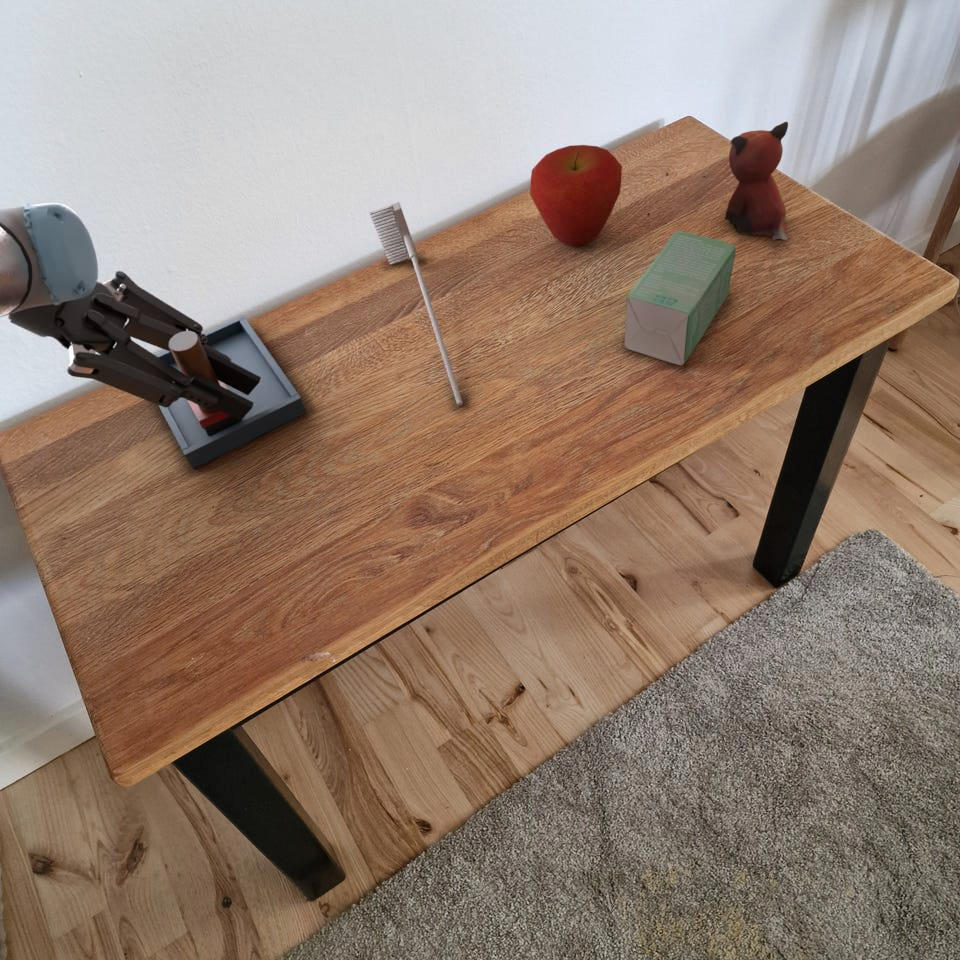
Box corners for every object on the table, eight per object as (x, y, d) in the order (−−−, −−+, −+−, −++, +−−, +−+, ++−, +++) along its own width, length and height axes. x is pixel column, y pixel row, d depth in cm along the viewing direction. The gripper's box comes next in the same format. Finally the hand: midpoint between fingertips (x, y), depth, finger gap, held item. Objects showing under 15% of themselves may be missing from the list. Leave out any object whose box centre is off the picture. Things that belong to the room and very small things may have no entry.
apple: (602, 205, 110) (603, 119, 101) (632, 251, 104) (637, 162, 94) (523, 226, 109) (516, 140, 100) (548, 273, 103) (544, 186, 93)
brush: (440, 435, 94) (421, 391, 86) (389, 264, 107) (368, 211, 99) (472, 425, 94) (455, 379, 86) (417, 255, 107) (398, 201, 99)
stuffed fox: (762, 261, 100) (780, 171, 90) (704, 217, 106) (715, 128, 97) (812, 238, 101) (834, 148, 92) (752, 196, 108) (767, 108, 99)
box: (730, 294, 97) (739, 240, 91) (684, 368, 90) (690, 315, 84) (671, 278, 100) (675, 225, 94) (622, 349, 93) (624, 296, 87)
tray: (306, 412, 92) (301, 397, 90) (192, 468, 88) (184, 455, 87) (248, 328, 102) (242, 314, 100) (144, 376, 98) (136, 362, 97)
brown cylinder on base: (244, 420, 91) (209, 341, 82) (207, 438, 90) (167, 359, 81) (217, 376, 96) (182, 297, 86) (182, 393, 94) (141, 313, 85)
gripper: (42, 255, 84) (250, 365, 96) (-23, 365, 75) (218, 474, 86) (65, 206, 80) (281, 328, 91) (-2, 317, 70) (250, 438, 81)
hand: (250, 398), depth 88 cm, fingers closed on brown cylinder on base, 3 cm apart
